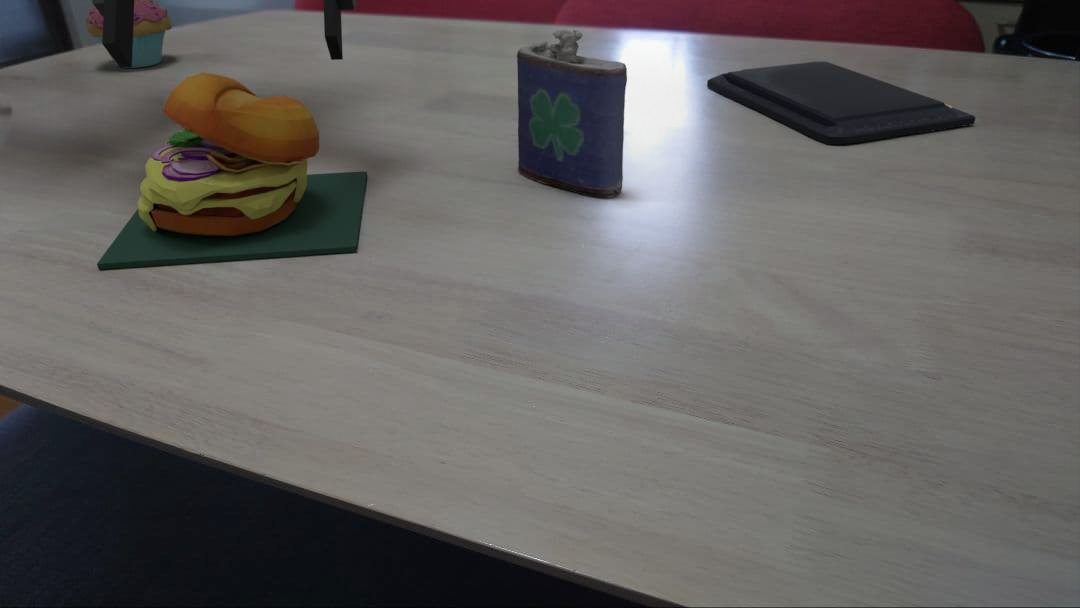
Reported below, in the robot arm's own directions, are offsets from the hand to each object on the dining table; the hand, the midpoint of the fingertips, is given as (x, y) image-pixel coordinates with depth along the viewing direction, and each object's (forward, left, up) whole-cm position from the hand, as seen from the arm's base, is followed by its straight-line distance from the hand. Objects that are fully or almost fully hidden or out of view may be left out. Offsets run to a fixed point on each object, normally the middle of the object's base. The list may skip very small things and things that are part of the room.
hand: (227, 52), depth 53 cm
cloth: (0, -4, -10) cm, 11 cm away
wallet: (+49, +14, -10) cm, 52 cm away
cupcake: (-20, +43, -10) cm, 48 cm away
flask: (+22, -1, -10) cm, 24 cm away
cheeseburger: (0, -4, -10) cm, 11 cm away
